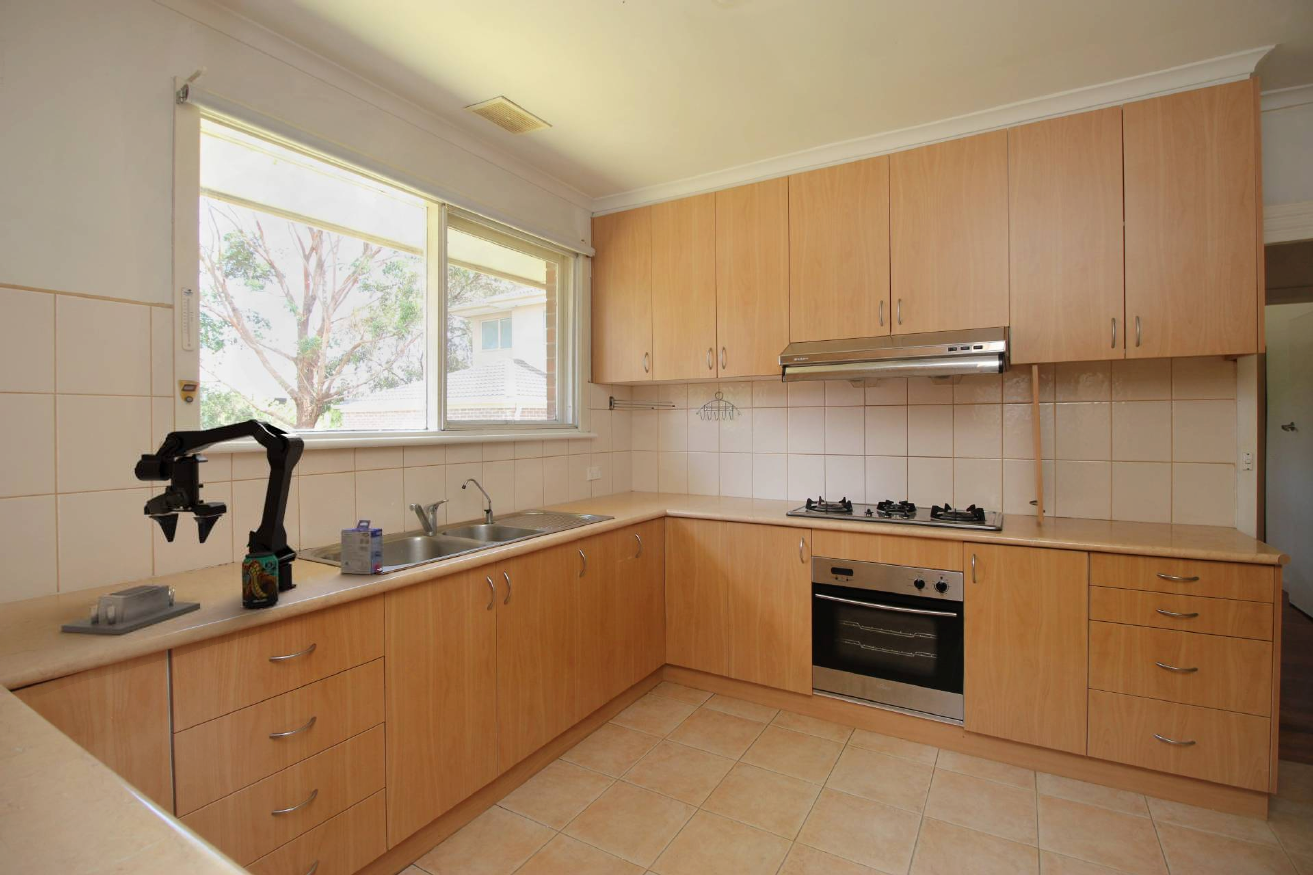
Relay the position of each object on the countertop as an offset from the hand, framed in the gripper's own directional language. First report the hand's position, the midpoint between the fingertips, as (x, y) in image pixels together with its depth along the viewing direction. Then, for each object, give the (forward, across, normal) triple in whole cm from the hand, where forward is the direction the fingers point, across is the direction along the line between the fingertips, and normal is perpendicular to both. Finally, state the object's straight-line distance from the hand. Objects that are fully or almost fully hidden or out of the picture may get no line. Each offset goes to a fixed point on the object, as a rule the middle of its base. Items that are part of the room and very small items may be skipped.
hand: (186, 542), depth 156 cm
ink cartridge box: (+12, +32, +24) cm, 42 cm away
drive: (+11, +10, -22) cm, 27 cm away
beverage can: (+12, +29, -9) cm, 33 cm away
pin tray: (+12, +10, -22) cm, 27 cm away
